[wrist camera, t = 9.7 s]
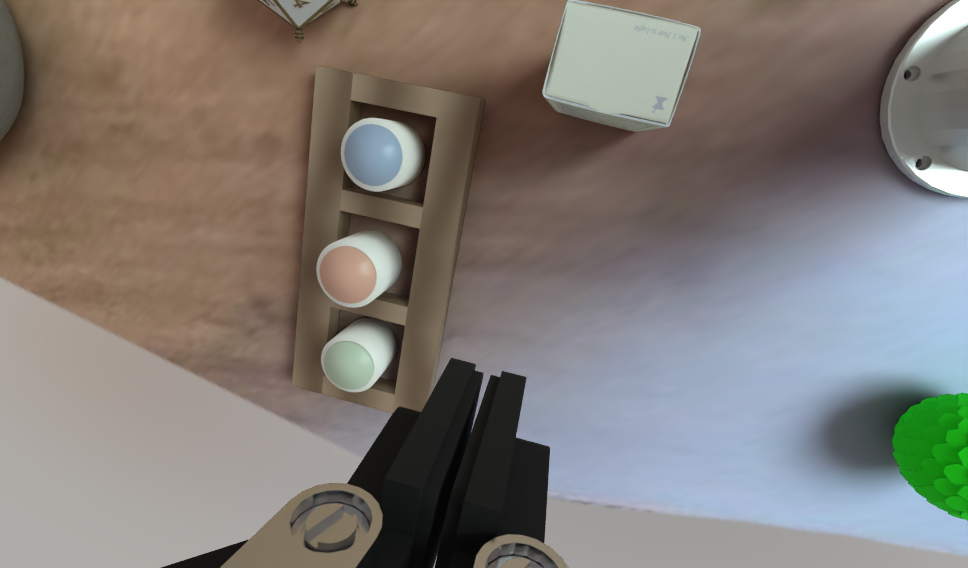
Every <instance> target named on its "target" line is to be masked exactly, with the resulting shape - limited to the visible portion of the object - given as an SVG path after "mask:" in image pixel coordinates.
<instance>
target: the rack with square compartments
mask: <svg viewBox="0 0 968 568" xmlns="http://www.w3.org/2000/svg"><path fill="white" fill-rule="evenodd" d="M362 103H367V104H372V105H377V106H382V107H387V108H392V109H397V110H402V111H407V112H412V113H417V114H422V115H427V116H432V117H437V119H436V125H435V132H434V139H433V145H432V152H431V158H430V165H429V172H428V178H427V185H426V191H425V198H424V203H422V202H417V201H413V200H408V199H404V198H399V197H395V196H390V195H386V194H381V193H376V192H372V191H367V190H363V189H358V188H354V187H353V184H354V182H353V181H352V180H351V179H350V177H349V176H348V175H347V173H346V171H345V169H344V167H343V164H342V160H341V145H342V141H343V138H344V136H345V134H346V132H347V131H348V129H349V128H350V127H351V126H352V125H353V124H355V123H356V122H358V121H360V118H361V108H362ZM484 105H485V100H484V99H482V98H479V97H474V96H469V95H464V94H459V93H454V92H448V91H443V90H438V89H433V88H428V87H423V86H418V85H413V84H407V83H402V82H397V81H392V80H387V79H382V78H377V77H372V76H366V75H361V74H356V73H351V72H346V71H341V70H336V69H330V68H325V67H320V66H316V72H315V85H314V98H313V112H312V125H311V138H310V152H309V165H308V178H307V191H306V205H305V218H304V231H303V245H302V258H301V271H300V284H299V298H298V311H297V324H296V338H295V351H294V364H293V377H292V386H295V387H298V388H302V389H306V390H309V391H313V392H317V393H320V394H324V395H328V396H331V397H335V398H339V399H342V400H346V401H350V402H354V403H357V404H361V405H365V406H368V407H372V408H376V409H379V410H383V411H387V412H390V413H394V411H395V410H396V409H397V408H398V407H400V406H401V407H404V408H408V409H412V410H416V411H419V412H422V410H423V408H424V406H425V404H426V403H427V401H428V399H429V397H430V395H431V393H432V392H433V388H434V382H435V377H436V371H437V366H438V360H439V355H440V349H441V343H442V338H443V332H444V327H445V321H446V316H447V310H448V305H449V299H450V293H451V288H452V282H453V277H454V271H455V266H456V260H457V255H458V249H459V244H460V238H461V232H462V227H463V221H464V216H465V210H466V205H467V199H468V194H469V188H470V182H471V177H472V171H473V166H474V160H475V155H476V149H477V144H478V138H479V132H480V127H481V121H482V116H483V110H484ZM350 213H353V214H358V215H362V216H367V217H371V218H375V219H380V220H384V221H388V222H393V223H397V224H402V225H406V226H410V227H415V228H419V229H420V231H419V237H418V244H417V250H416V257H415V264H414V270H413V277H412V283H411V290H410V296H409V298H407V297H403V296H399V295H395V294H391V293H387V292H383V293H382V294H381V295H379V296H378V297H377V298H375V299H374V300H373V301H372V302H370V303H369V304H367V305H365V306H362V307H356V308H351V307H345V306H342V305H340V304H337V303H336V302H334V301H333V300H331V299H330V298H329V297H328V296H327V295H326V294H325V293H324V291H323V290H322V288H321V286H320V284H319V281H318V278H317V272H316V266H317V261H318V258H319V256H320V254H321V252H322V251H323V250H324V249H325V248H326V247H327V246H328V245H329V244H331V243H333V242H336V241H338V240H340V239H343V238H345V237H348V232H349V223H350ZM340 309H341V310H345V311H349V312H353V313H357V314H361V315H365V316H369V317H373V318H377V319H381V320H385V321H389V322H393V323H397V324H401V325H404V326H405V329H404V336H403V342H402V349H401V356H400V362H399V369H398V375H397V382H395V381H391V380H388V379H384V378H380V377H379V378H378V380H377V381H376V382H375V383H374V384H373V385H372V386H371V387H370V388H369V389H367V390H365V391H362V392H348V391H344V390H342V389H340V388H338V387H336V386H335V385H334V384H332V383H331V382H330V381H329V379H328V378H327V377H326V375H325V373H324V371H323V369H322V365H321V354H322V351H323V349H324V347H325V345H326V344H327V343H328V342H329V341H330V340H331V339H333V338H334V337H335V336H336V335H338V327H339V318H340Z"/></svg>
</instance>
